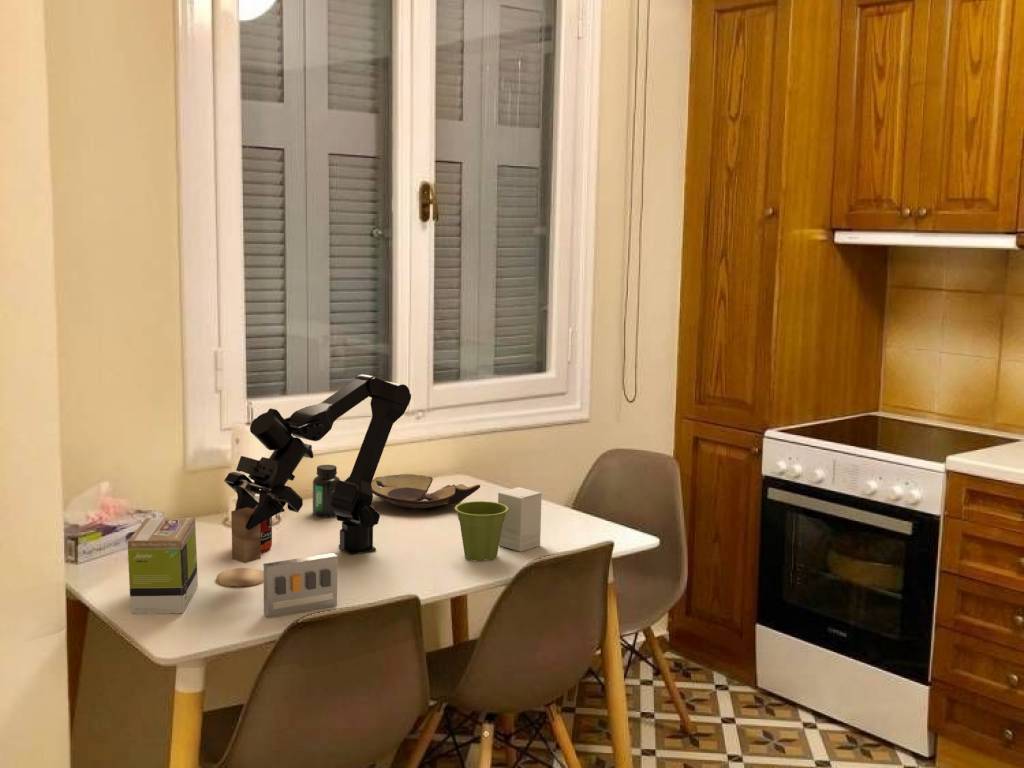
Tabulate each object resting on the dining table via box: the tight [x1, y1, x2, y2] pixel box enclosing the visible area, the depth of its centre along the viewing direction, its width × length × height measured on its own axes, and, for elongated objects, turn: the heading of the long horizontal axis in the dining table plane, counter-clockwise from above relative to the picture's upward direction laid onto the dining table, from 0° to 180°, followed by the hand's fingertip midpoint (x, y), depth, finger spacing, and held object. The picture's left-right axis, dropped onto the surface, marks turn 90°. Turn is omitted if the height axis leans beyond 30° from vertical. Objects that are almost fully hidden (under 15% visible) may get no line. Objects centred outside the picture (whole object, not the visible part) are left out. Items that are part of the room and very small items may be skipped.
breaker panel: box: [263, 552, 338, 619], centre depth 213 cm, size 14×3×10 cm, turn 122°
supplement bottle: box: [312, 464, 341, 518], centre depth 278 cm, size 7×7×12 cm
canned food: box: [235, 495, 273, 553], centre depth 250 cm, size 8×8×11 cm
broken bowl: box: [371, 473, 481, 509], centre depth 287 cm, size 22×30×8 cm
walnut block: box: [230, 507, 262, 564], centre depth 226 cm, size 4×4×10 cm
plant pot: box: [454, 500, 509, 562], centre depth 249 cm, size 12×12×11 cm
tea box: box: [127, 516, 199, 615], centre depth 216 cm, size 15×10×15 cm, turn 5°
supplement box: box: [497, 486, 543, 552], centre depth 257 cm, size 7×7×13 cm
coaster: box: [216, 567, 264, 588], centre depth 231 cm, size 10×10×1 cm
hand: (240, 526), depth 225 cm, fingers closed on walnut block, 4 cm apart
